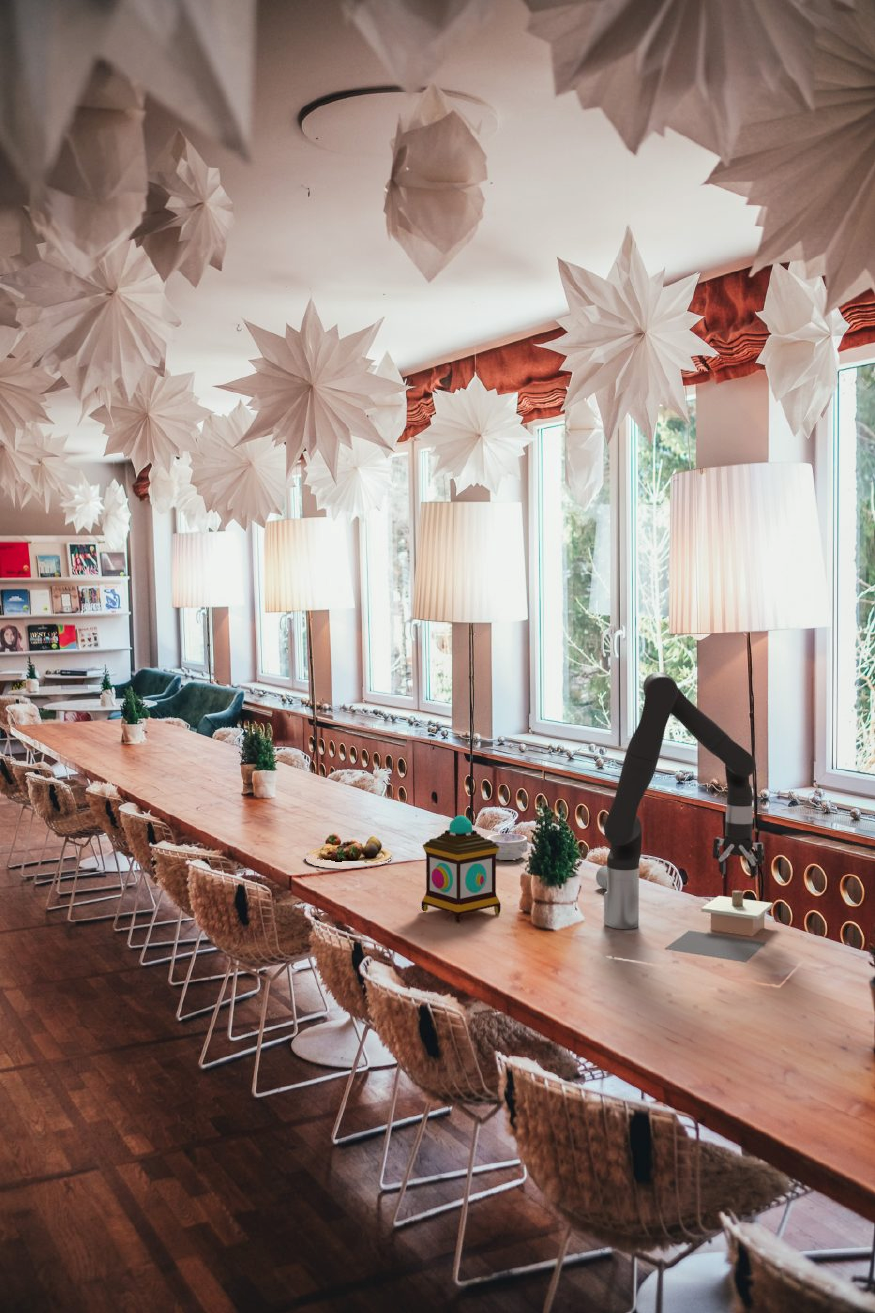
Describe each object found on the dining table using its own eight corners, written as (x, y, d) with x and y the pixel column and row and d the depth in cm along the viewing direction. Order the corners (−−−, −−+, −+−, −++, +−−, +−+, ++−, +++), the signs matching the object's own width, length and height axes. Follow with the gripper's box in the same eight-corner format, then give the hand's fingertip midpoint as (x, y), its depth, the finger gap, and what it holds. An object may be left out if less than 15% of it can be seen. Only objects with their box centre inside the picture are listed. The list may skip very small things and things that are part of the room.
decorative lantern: (457, 926, 327) (456, 824, 326) (414, 912, 342) (414, 814, 341) (507, 914, 340) (507, 815, 338) (464, 901, 355) (464, 806, 354)
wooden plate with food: (298, 854, 425) (298, 832, 424) (380, 847, 434) (380, 826, 433) (314, 875, 394) (313, 851, 393) (401, 868, 403) (401, 845, 403)
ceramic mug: (606, 894, 363) (607, 871, 362) (595, 888, 371) (595, 865, 370) (635, 892, 366) (636, 869, 366) (624, 886, 374) (624, 863, 374)
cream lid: (701, 911, 320) (701, 894, 320) (718, 899, 334) (718, 882, 334) (757, 919, 312) (757, 901, 312) (772, 906, 325) (773, 889, 325)
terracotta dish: (710, 931, 321) (710, 910, 321) (723, 921, 331) (723, 901, 331) (752, 938, 315) (752, 916, 315) (764, 927, 325) (764, 907, 325)
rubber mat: (664, 950, 303) (664, 948, 303) (689, 932, 320) (689, 930, 320) (745, 964, 292) (745, 962, 292) (766, 944, 309) (766, 942, 309)
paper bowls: (481, 861, 410) (481, 840, 410) (492, 852, 425) (491, 832, 424) (522, 864, 406) (522, 842, 405) (531, 855, 420) (531, 834, 420)
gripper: (710, 819, 322) (709, 875, 323) (760, 825, 315) (759, 882, 316) (718, 815, 329) (717, 870, 330) (767, 820, 321) (766, 876, 322)
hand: (737, 876), depth 323 cm, fingers open, 8 cm apart
